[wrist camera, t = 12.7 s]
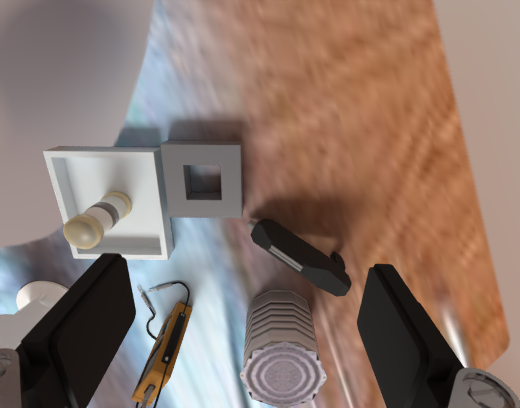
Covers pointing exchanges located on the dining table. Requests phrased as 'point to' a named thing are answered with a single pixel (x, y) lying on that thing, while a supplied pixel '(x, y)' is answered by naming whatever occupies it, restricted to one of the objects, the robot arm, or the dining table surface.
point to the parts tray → (115, 179)
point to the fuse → (97, 220)
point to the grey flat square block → (179, 183)
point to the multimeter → (162, 352)
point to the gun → (302, 257)
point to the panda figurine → (29, 311)
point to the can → (281, 350)
